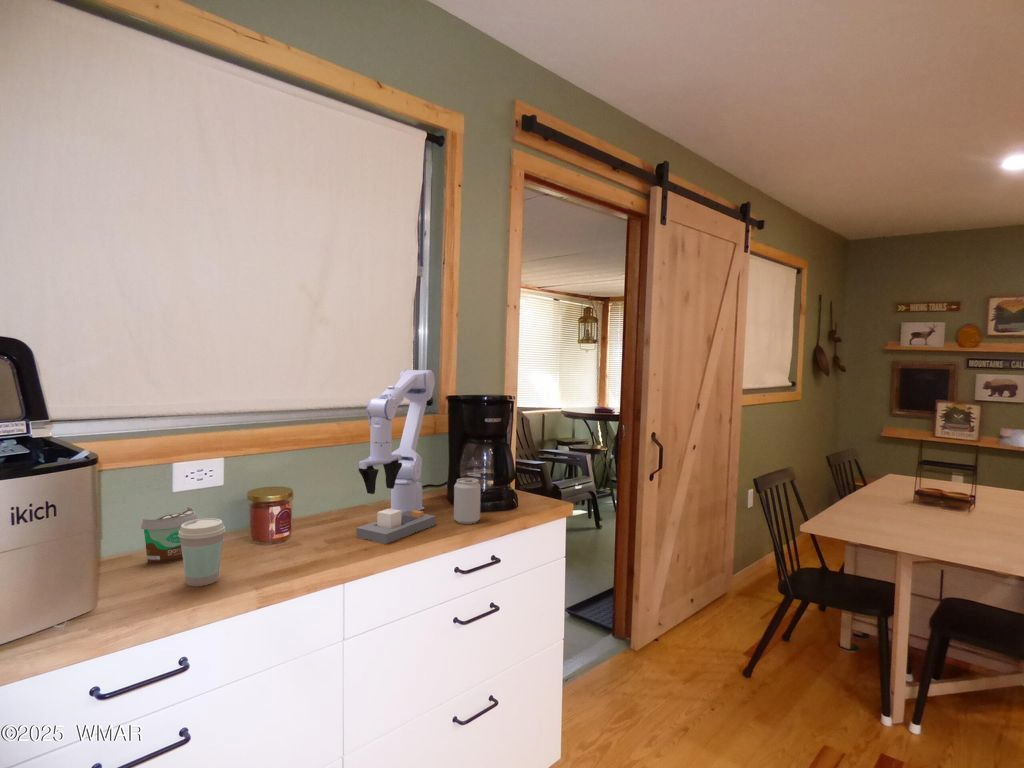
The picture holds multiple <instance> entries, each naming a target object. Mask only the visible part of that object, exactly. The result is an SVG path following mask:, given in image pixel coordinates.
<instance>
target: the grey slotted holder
mask: <svg viewBox="0 0 1024 768" xmlns="http://www.w3.org/2000/svg"><path fill="white" fill-rule="evenodd" d="M436 517H437V515H431V514H426V513H424V511H423V510H419V511H418V510H413V511H406V512H403V513H401V526H398V527H395V528H392V529H388V528H384V527H379V526H377V520H376V521H373V522H370V523H367V524H364V525H361V526H358V527H356V538H357V537H358V539H361V538H363V539H362V540H366V539H368V540H367V541H370V540H372V541H371V542H374V541H376V542H375V543H378V542H379V544H384V545H388V544H391V543H393V542H395V540H396V541H398V540H400V538H401V539H403V538H405V537H409V536H410V535H414V534H416V533H418V531H419V532H421V531H425V530H426V528H427V529H429V528H432V527H434V526H436V525H437V523H436V522H437V518H436ZM431 526H432V527H431ZM415 532H416V533H415ZM413 533H414V534H413Z"/></svg>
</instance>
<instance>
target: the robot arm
mask: <svg viewBox="0 0 1024 768" xmlns="http://www.w3.org/2000/svg"><path fill="white" fill-rule="evenodd" d="M398 379H399V380H398V381H397V382H396V384H395V385H388V386H387V388H386V389H385V390H384V391H383V392H382V393H381V394H380V395H379V396H377V398H375V397H373V398H371V399H370V400H369V401H368V403H367V404H366V409H365V411H366V416H367V419H368V426H369V427H370V428H369V429H370V433H369V435H370V438H369V439H370V442H369V443H370V445H369V450H370V452H369V453H370V454H369V456H368V457H367V458H365V459H363V460H359V462H358V472H359V474H360V475H361V478H362V479H363V482H364V485H365V488H366V493H367V494H370V495H374V494H375V492H376V483H377V477H378V473H379V471H380V470H379V469H378V468H375V467H377V466H382V465H383V469H384V475H385V486H386V489H390V508H389V509H395V510H401V513H403V512H406V511H413V510H418V511H423V510H425V507H424V506H423V486H422V484H421V482H420V481H419V480H420V478H421V475H422V467H423V459H422V457H421V455H419V453H418V452H417V446H418V441H419V438H420V433H421V428H422V424H423V419H424V415H425V412H426V411H425V410H426V406H427V403H428V402H427V401H429V400H431V399H432V397H433V393H434V389H435V384H436V380H435V379H436V378H435V374H434V372H433V371H432V370H431V369H427V370H425V369H424V370H423V369H420V370H419V369H404V368H403V369H402V371H400V372H399V378H398ZM405 399H406V400H408V401H409V402H410V403H409V407H408V409H407V410H408V411H407V414H406V419H405V423H404V427H403V431H402V434H401V435H402V436H401V439H400V444H399V447H398V448H396V449H395V450H392V439H393V438H392V431H393V429H392V425H393V422H392V421H393V419H394V418H395V416H396V411H397V410H398V407H399V406H400V405H401V403H403V401H404V400H405Z"/></svg>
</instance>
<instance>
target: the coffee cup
mask: <svg viewBox="0 0 1024 768" xmlns="http://www.w3.org/2000/svg"><path fill="white" fill-rule="evenodd" d="M225 532H226V526H225V525H224V522H223V520H222V519H220V518H213V517H212V518H211V517H210V518H197V519H196V520H192V521H188V522H185V523H183V524H182V525H181V528H180V530H179V534H178V537H180V542H181V549H182V556H183V559H182V561H183V562H182V564H183V570H184V576H185V584H186V585H187V586H190V587H203V585H204V586H207V585H208V584H209V585H211V584H214V583H216V582H217V581H218V580H219V577H220V568H221V561H222V560H221V559H222V551H223V542H224V533H225ZM215 581H216V582H215ZM209 585H208V586H209Z"/></svg>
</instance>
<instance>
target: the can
mask: <svg viewBox="0 0 1024 768" xmlns="http://www.w3.org/2000/svg"><path fill="white" fill-rule="evenodd" d="M481 487H482V486H481V484H480V482H479V479H477V478H475V477H474V478H473V477H462V478H457V479H456V482H455V484H454V485H453V496H454V497H453V520H455V521H456V522H457V524H460V525H461V524H462V525H472V523H473V524H476V523H477V522H478V521H479V520H480V519H481V489H482V488H481Z"/></svg>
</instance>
